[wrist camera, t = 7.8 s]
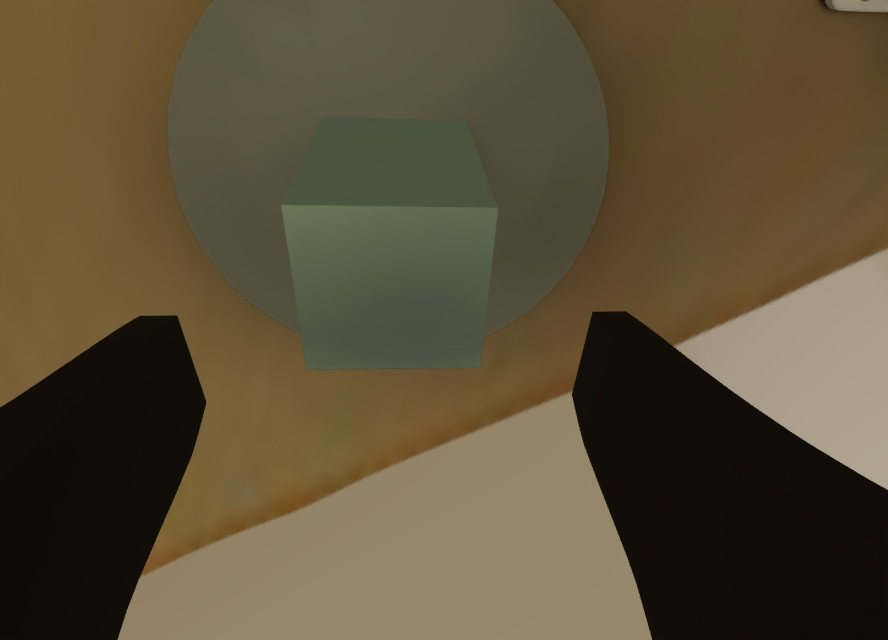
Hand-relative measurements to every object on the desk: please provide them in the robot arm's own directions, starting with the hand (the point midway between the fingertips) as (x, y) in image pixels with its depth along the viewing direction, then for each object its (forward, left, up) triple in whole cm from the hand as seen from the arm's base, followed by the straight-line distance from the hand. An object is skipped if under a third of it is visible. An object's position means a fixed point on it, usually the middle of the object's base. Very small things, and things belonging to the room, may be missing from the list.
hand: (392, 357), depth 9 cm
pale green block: (0, 0, -8) cm, 8 cm away
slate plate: (0, 0, -9) cm, 9 cm away
